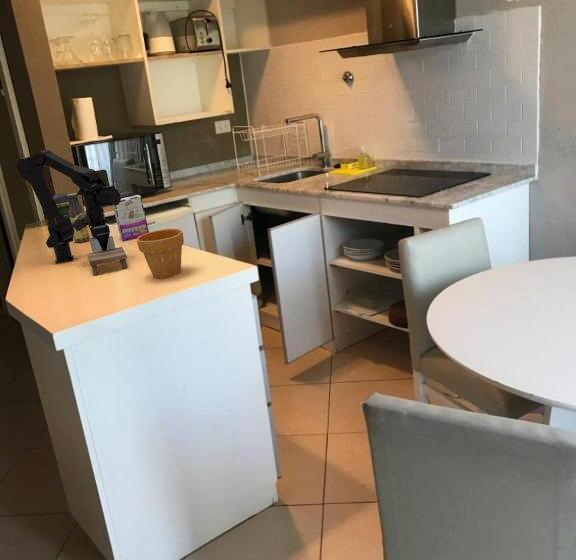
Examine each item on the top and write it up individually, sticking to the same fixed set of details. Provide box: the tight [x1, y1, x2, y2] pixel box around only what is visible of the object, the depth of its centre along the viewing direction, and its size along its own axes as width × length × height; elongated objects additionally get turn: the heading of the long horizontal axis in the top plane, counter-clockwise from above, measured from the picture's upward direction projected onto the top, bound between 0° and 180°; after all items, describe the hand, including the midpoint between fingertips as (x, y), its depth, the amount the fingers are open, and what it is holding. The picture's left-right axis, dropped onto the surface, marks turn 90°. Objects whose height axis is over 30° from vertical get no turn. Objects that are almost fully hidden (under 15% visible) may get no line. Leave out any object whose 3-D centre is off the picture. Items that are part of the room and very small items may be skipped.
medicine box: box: [88, 235, 116, 253], centre depth 225 cm, size 8×4×9 cm, turn 58°
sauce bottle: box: [67, 192, 90, 244], centre depth 258 cm, size 6×6×20 cm
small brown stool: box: [86, 246, 128, 276], centre depth 214 cm, size 12×12×5 cm
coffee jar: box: [52, 192, 70, 218], centre depth 273 cm, size 10×8×19 cm
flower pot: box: [136, 228, 185, 279], centre depth 197 cm, size 14×14×13 cm
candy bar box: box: [112, 194, 150, 242], centre depth 253 cm, size 11×5×16 cm, turn 118°
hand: (103, 249), depth 225 cm, fingers open, 9 cm apart
